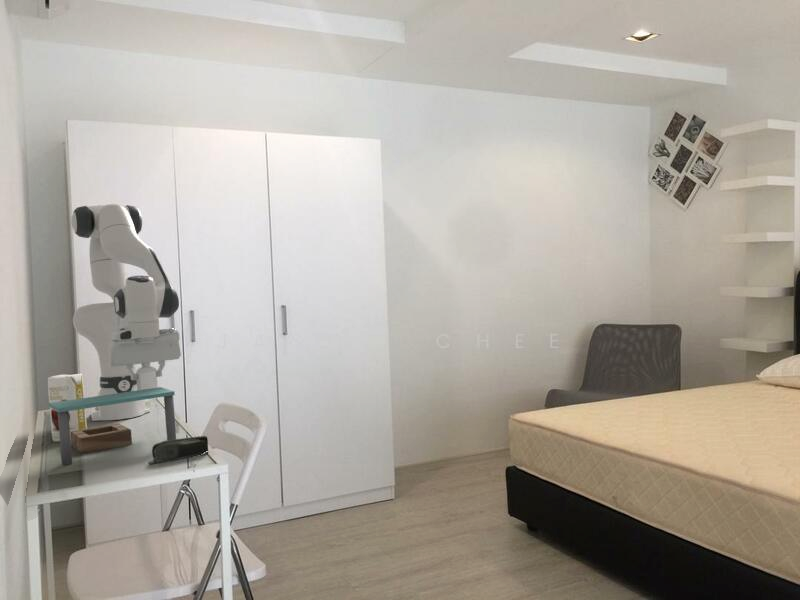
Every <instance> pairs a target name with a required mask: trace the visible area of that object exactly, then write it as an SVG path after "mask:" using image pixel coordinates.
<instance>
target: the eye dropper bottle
mask: <svg viewBox="0 0 800 600" xmlns="http://www.w3.org/2000/svg"><path fill="white" fill-rule="evenodd" d="M140 365H141V366H140V367H139V368H138V369H136V374H137V375H138V376H137V377H138V380H137V390H144V389H151V388H158V387H159V385H158V377H157V372H156V370H157V368H156V367H154V366H152V365H151V362H150V363H142V364H140Z"/></svg>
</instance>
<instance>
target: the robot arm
mask: <svg viewBox="0 0 800 600" xmlns="http://www.w3.org/2000/svg"><path fill="white" fill-rule="evenodd" d="M143 220H144V219H143V216H142V213H141V211H140V209H139V208H138V207H136V206H134V205H128V204H127V205H122V204H121V205H120V204H118V203H110V204H101V205H100V204H99V205H90V206H88V205H84V206H83V205H82V206H78V207H75V209H74V210H73V212H72V215H71V223H70V224H71V227H72V229H73V232H74V233H75V235H77V236H78V237H79V238H85V239H89V238H90V241H89V264H90V265H89V267H90V273H91V283H92V285H93V287H94V288H95V289H96V291H99V292H100V293H103V294H106V295H108V296H109V298H111V299H112V302H103V303H102V302H100V303H98V302H97V303H90V304H86V305H83V306H79V307H78V308H77V309H76V310H75V312H74V314H73V317H72V325H73V328H74V329H75V331H76V332H77V333H78V334H79V335H81V336H82V337H84V338H85V339H87V340H88V341H89V342H90V343H91V344H92V345H93V347H94V349H95V350H96V352H97V355H98V360H99V361H98V362H99V368H100V375H101V376H100V377H99V387H100V389H99V391H98V394H97V396H102V395H109V394H116V393H123V392H130V391H137V380H138V377H137V376H138V375H137V374H136V371H137V366H136V365H141V364H142V363H150V364H151V363H155V362H157V363H158V365H159V367H158V368H157V369H156V372H157V378H160V377H162V376H163V373H162V372H163V370H164V368H165V366H166V361H173V360H179V359H180V357H181V355H182V354H181V353H182V352H181V347H180V342H179V341H180V333H179V332H180V331H178V330H177V329H174V328H168V329H167V328H164V329H160V321H159V319H162V318H163V319H164V318H166V319H167V318H168V319H169V318H171V317H172V316H173V315H174V314H175V313H176V312H177V311H178V309H179V307H180V306H179V305H180V299H179V296H178V293H177V290H176V289H175V287H174V286H173V285H172V283H171V282H170V280H169V279H168V276H167V274H166V272H165V270H164V268H163V265H162V264H161V262H160V260H159V258H158V257H157V254H156V253H155V250H154V249H153V248H152V247H151V246H150V245H149V244H146V243H144V241H143V240H141V238H140V237H139V236H138V235H139V233H141V231H142V227H143V224H144V223H143V222H144V221H143ZM126 264H127V265H131V266H134V267H137V268H140V269H142V270H143V271H145V273H147V275H132V276H128V273H127V268H126V267H127V266H126ZM94 408H95V410H93V411H91V412H90V415H91V421H93V422H94V421H95V422H97V421H98V422H99V421H116V420H124V419H131V418H136V417H140V416H142V415H144V414H147V413H150V412H151V409H150V408H146V403H145V400H138V401H132V402H125V403H119V404H112V405H105V406H99V407H94Z"/></svg>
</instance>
